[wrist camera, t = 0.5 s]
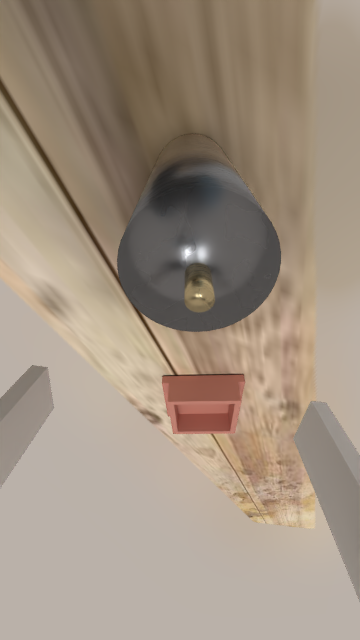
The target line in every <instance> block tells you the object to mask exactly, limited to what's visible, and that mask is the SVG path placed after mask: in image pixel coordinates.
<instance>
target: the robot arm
mask: <svg viewBox="0 0 360 640" xmlns="http://www.w3.org/2000/svg"><path fill="white" fill-rule="evenodd" d="M53 408H54V406H53V399H52V393H51V387H50V380H49V373H48V367H42V366H34V365H32V366H31V367H30V368H29V369H28V370H27V371H26V372H25V373H24V374H23V375H22V376H21V377H20V378H19V380H18V381H17V382H16V383H15V384H14V385H13V386H12V387H11V388H10V389H9V390H8V391H7V392H6V393H5V394H4V395H3V396H2V397H1V398H0V488H1V486H2V485H3V483H4V482H5V480H6V479H7V477H8V476H9V474H10V473H11V471H12V470H13V468H14V467H15V465H16V464H17V462H18V461H19V459H20V458H21V456H22V455H23V453H24V452H25V450H26V449H27V447H28V446H29V444H30V443H31V441H32V440H33V438H34V437H35V435H36V434H37V432H38V431H39V429H40V428H41V426H42V425H43V423H44V422H45V420H46V419H47V417H48V416H49V414H50V413H51V411H52V410H53ZM293 439H294V441H295V444H296V446H297V449H298V451H299V454H300V456H301V459H302V461H303V463H304V466H305V468H306V471H307V473H308V476H309V478H310V481H311V483H312V486H313V488H314V490H315V493H316V495H317V498H318V500H319V503H320V505H321V507H322V510H323V512H324V515H325V517H326V520H327V522H328V525H329V527H330V530H331V532H332V535H333V537H334V540H335V542H336V545H337V547H338V549H339V552H340V554H341V557H342V559H343V562H344V564H345V567H346V569H347V571H348V574H349V576H350V579H351V581H352V584H353V586H354V589H355V591H356V594H357V596H358V599H359V601H360V455H359V453H358V452H357V450H356V448H355V447H354V445H353V444H352V442H351V441H350V439H349V438H348V436H347V434H346V433H345V431H344V430H343V428H342V426H341V425H340V423H339V422H338V420H337V419H336V417H335V416H334V414H333V412H332V411H331V409H330V408H329V406H328V405H327V403H324V402H316V401H311V402H310V404H309V406H308V408H307V410H306V413H305V415H304V417H303V419H302V421H301V423H300V425H299V427H298V430H297V432H296V434H295V436H294V438H293Z"/></svg>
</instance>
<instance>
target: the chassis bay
mask: <svg viewBox="0 0 360 640" xmlns="http://www.w3.org/2000/svg"><path fill="white" fill-rule="evenodd" d="M244 384H245V379H244V375H205V376H163V378H162V386H163V391H164V397H165V402H166V408H167V413H168V416H170V418H171V424H172V430H173V434H210V433H235V430H236V425H237V420H238V415H239V410H240V405H241V399H242V394H243V389H244Z"/></svg>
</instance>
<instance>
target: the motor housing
mask: <svg viewBox="0 0 360 640" xmlns="http://www.w3.org/2000/svg"><path fill="white" fill-rule="evenodd" d="M280 264H281V250H280V243H279V239H278V236H277V233H276V231H275V229H274V227H273V225H272V223H271V221H270V220H269V218H268V217H267V215H266V214H265V213H264V211H263V210H262V208H261V207H260V205H259V204H258V202H257V201H256V199H255V198H254V196H253V195H252V193H251V192H250V190H249V189H248V187H247V186H246V184H245V183H244V181H243V180H242V179H241V177H240V176H239V174H238V173H237V171H236V170H235V168H234V167H233V165H232V164H231V162H230V161H229V159H228V158H227V156H226V155H225V153H224V152H223V151H222V149H221V148H220V146H219V145H218V144H217V143H216V142H214V141H213V140H212V139H210V138H208V137H206V136H203V135H199V134H186V135H182V136H179V137H177V138H175V139H174V140H172V141H171V142H170V143H169V144H167V145H166V146H165V148H164V149H163V150H162V152H161V153H160V155H159V157H158V159H157V161H156V164H155V166H154V168H153V170H152V172H151V175H150V177H149V179H148V181H147V184H146V186H145V188H144V190H143V192H142V195H141V197H140V199H139V201H138V204H137V206H136V208H135V210H134V212H133V215H132V217H131V219H130V221H129V224H128V226H127V228H126V230H125V232H124V235H123V237H122V239H121V242H120V246H119V249H118V258H117V266H118V274H119V279H120V282H121V285H122V287H123V289H124V291H125V293H126V295H127V297H128V298H129V300H130V301H131V302H132V303H133V305H134V306H135V307H136V308H137V309H138V310H139V311H140V312H141V313H143V314H144V315H145V316H147V317H148V318H149V319H151V320H153V321H155V322H157V323H159V324H161V325H163V326H166V327H169V328H172V329H177V330H181V331H192V332H200V331H210V330H216V329H220V328H223V327H226V326H229V325H232V324H234V323H236V322H238V321H240V320H242V319H243V318H245V317H247V316H248V315H249V314H251V313H252V312H253V311H255V310H256V309H257V308H258V307H259V306H260V305H261V304H262V303H263V302H264V300H265V299H266V298H267V297H268V295H269V294H270V292H271V290H272V289H273V287H274V285H275V282H276V280H277V277H278V274H279V270H280Z"/></svg>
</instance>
